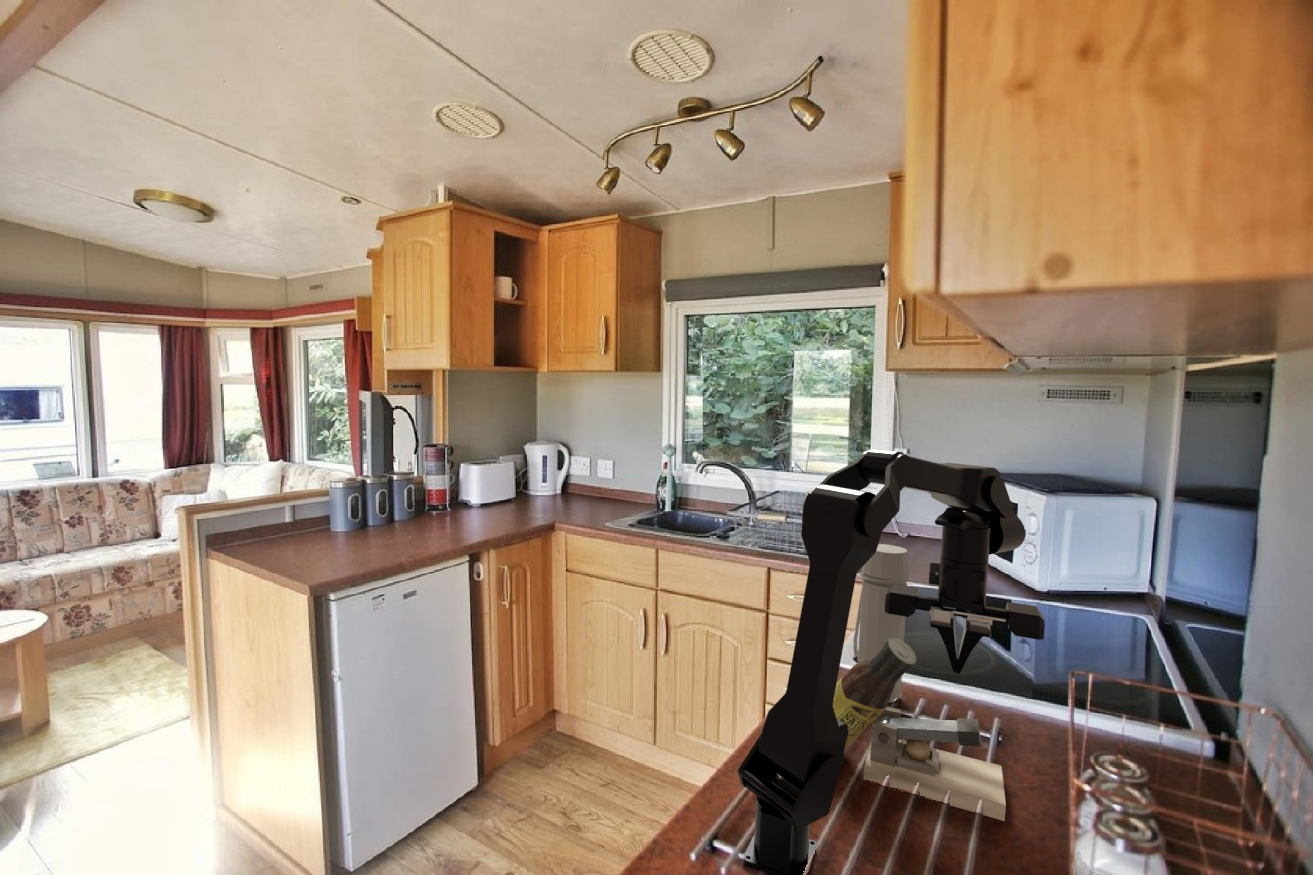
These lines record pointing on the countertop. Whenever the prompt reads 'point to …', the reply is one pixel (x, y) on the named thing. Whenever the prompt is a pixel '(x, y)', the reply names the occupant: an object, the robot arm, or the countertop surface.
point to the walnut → (917, 750)
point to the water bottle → (880, 604)
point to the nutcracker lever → (937, 730)
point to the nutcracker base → (934, 772)
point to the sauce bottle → (870, 686)
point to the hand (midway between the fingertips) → (956, 672)
